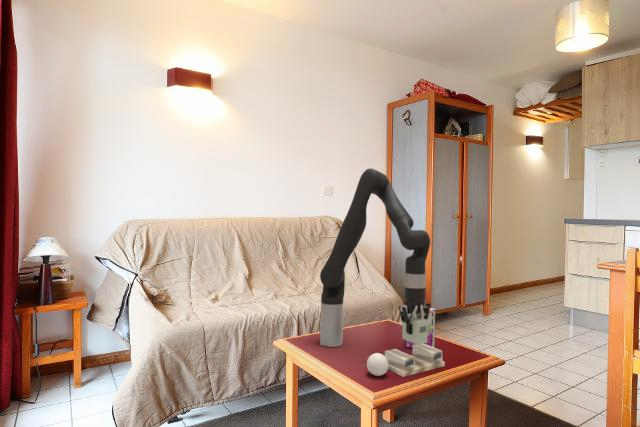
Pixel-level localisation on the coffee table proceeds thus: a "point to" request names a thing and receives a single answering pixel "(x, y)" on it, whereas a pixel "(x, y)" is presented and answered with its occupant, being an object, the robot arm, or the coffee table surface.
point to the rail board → (414, 360)
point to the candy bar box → (429, 330)
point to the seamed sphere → (377, 364)
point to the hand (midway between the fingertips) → (414, 332)
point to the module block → (416, 331)
